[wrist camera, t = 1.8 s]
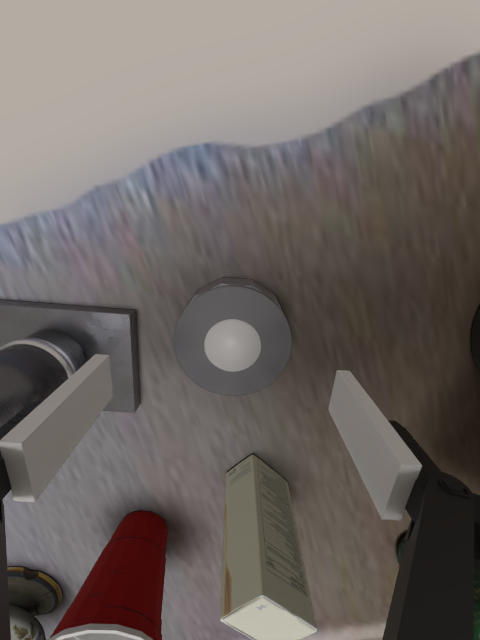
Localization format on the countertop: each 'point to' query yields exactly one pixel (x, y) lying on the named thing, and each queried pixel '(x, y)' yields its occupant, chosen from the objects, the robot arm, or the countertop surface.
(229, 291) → the cap
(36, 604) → the apothecary jar
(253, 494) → the skincare box
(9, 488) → the robot arm
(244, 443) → the countertop surface
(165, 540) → the plastic cup
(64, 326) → the gray flat-based fixture
